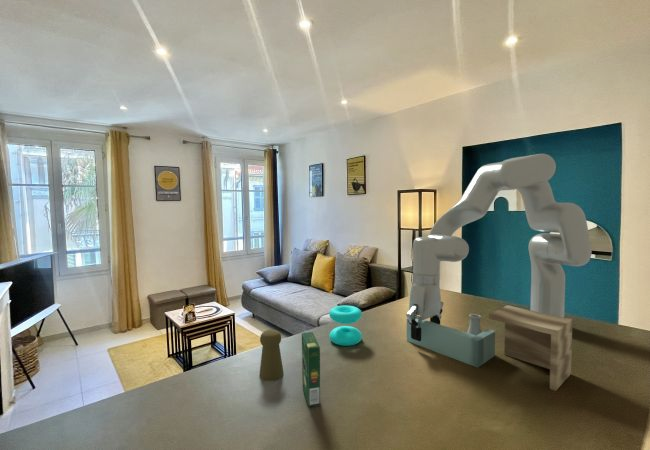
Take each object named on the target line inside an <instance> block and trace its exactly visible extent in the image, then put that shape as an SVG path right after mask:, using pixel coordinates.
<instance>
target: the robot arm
mask: <svg viewBox="0 0 650 450" xmlns="http://www.w3.org/2000/svg"><path fill="white" fill-rule="evenodd" d="M556 168H557V165H556V162H555V160H554V158H553V157H552V156H551V155H549V154H546V153H536V154H530V155H524V156H517V157H511V158H508V159H504V160H503V161H499V162H493V163H486V164H484V165H482V166H480V168H478V169H477V171H476V172H475V174H474V175H473V177H472V179H471V180H470V182H469V184H468V185H467V187H466V188H465V191H464V192H463V194H462V195H461V197H460V199H459V201H458V202H456V204H455V205H453V206H452V207H450V209H448V210H447V211H446V212H445V213H444V214H442V215H441V216H440V217H439V218H438V219H437V221H435V223H434V224H433V226H432V228H431V229H430V230H429V233H428V234H427V236H418V237H415V239H414V240H413V242H412V272H413V273H412V284H411V286H410V287H411V288H410V294H409V305H408V306H409V307H408V311H407V313H406V319H407V318H408V322H409V323H410V326H411V338H412V339H414V340H417V341H421V327H420V325H421V323H422V320H428V319H429V321H430V322H433V323H436V324H440V325H441V319H442V313H443V308H444V305H445V302H443V301H442V299H441V297H442V295H441V286H440V284H441V283H440V280H441V279H440V275H441V272H440V271H441V269H440V268H441V267H440V266H441V262H452V263H457V262H461V261H463V260H464V259H466V258H467V256H468V254H469V251H470V247H469V246H470V245H469V244H468V242H467V241H466V240H465V239H464V238H462V237H459V236H456V235H455V236H454V235H453V234H454V233H456V231H457V230H459V229H460V228H462V227H464V226H466V225H467V224H471V223H473V222H475V221H478V220H480V219H482V218H483V217H484V216H486V214H487V213H488V212H489V211H488V210H490V207H491V206H492V204H493V202H494V200H495V199H496V197H497V195H498V193H499V192H501V191H514V190H517V191H518V192H519V194H520V196H521V200H522V203H523V208H524V211H525V215H526V219H527V220H526V221H527V223H528V225H529V227H530V229H532V230H534V231H536V232H537V231H538V232H543V233H538V234H535V235H534V236H532V237H531V238H530V240H529V242H528V253H529V254H528V255H529V260H530V268H531V270H530V272H531V275H530V278H531V279H530V308H529V310H532V311H536V312H541V313H545V314H550V315H555V316H559V317H564V318H565V302H566V301H565V300H566V299H565V298H566V295H565V294H566V274H565V271H564V269H563V266H562V265H566V266H571V267H582V266H585V265H586V264H588V263H589V261H590V260H591V256H592V250H593V249H592V243H591V237H590V233H589V228H588V227H589V226H588V222H587V219H586V218H587V217H586V215H585V212H584V211H583V209H582V208H581V207H580V206H579V205H578V204H575V203H574V202H557V201H556V200H555V197H554V194H553V190H552V187H551V185H550V182H549V180H550V179H552V178H553V176H554V174H555V172H556V170H557V169H556ZM545 232H546V233H545ZM416 319H419V320H418V322H416V321H415V320H416Z"/></svg>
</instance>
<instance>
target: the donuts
mask: <svg viewBox="0 0 650 450" xmlns="http://www.w3.org/2000/svg"><path fill="white" fill-rule="evenodd" d="M362 316H363V315H362V310H361V309H360V308H358V307H356V306H354V305H347V304H345V305H338V306H334V307H332V308H331V309H330V310H329V317H330V319H331V320H332V321H333V322H335V323H338V324H343V325H340V326H337V327H335V328H333V329H332V330H331V331H330V333H329V339H330V341H331V342H332V343H333V344H335V345H338V346H342V347H343V346H344V347H345V346H346V347H350V346H354V345H357V344H359V342H361V341H362V338H363V334H362V332H361V331H360V330H359V329H358V328H356V327H354V326H351V325H350V324H353V323H357V322H358V321H359V320H361V318H362ZM344 324H345V325H344ZM347 324H348V325H347Z"/></svg>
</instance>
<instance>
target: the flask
mask: <svg viewBox="0 0 650 450" xmlns="http://www.w3.org/2000/svg"><path fill="white" fill-rule="evenodd" d="M468 316H469V326H468V328H467V331H466V333H470V334H473V335H478V334H480V333H482V332H483V331H482V326H481V319H482V316H481V314H476V313H470V314H468Z"/></svg>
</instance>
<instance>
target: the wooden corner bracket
mask: <svg viewBox="0 0 650 450" xmlns="http://www.w3.org/2000/svg"><path fill="white" fill-rule="evenodd" d="M488 319H489V320H493V321H497V322H500V323H504V351H503V352H504V355H505V356H509V357H511V358H514V359H517V360H519V361H523V362H526V363H529V364H532V365H535V366H538V367H540V368H541V367H542V368H545V369H547V370H549V389H550V390H552V391H555V392H556V391H558V390H559V388H560V387H561V386H562V385H563V383H564V382H565V381H566V380H567V379H569V377H570V375H571V374H572V351H573V350H572V349H573V318H568V317H565V316H564V317H559V316H555V315H550V314H545V313H541V312H536V311H532V310H530V309H526V308H522V307H517V306H513V305H508V304H507V305H505V306H503V307H501V308H498V309H497V310H494V311H493V312H490V313H488Z"/></svg>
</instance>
